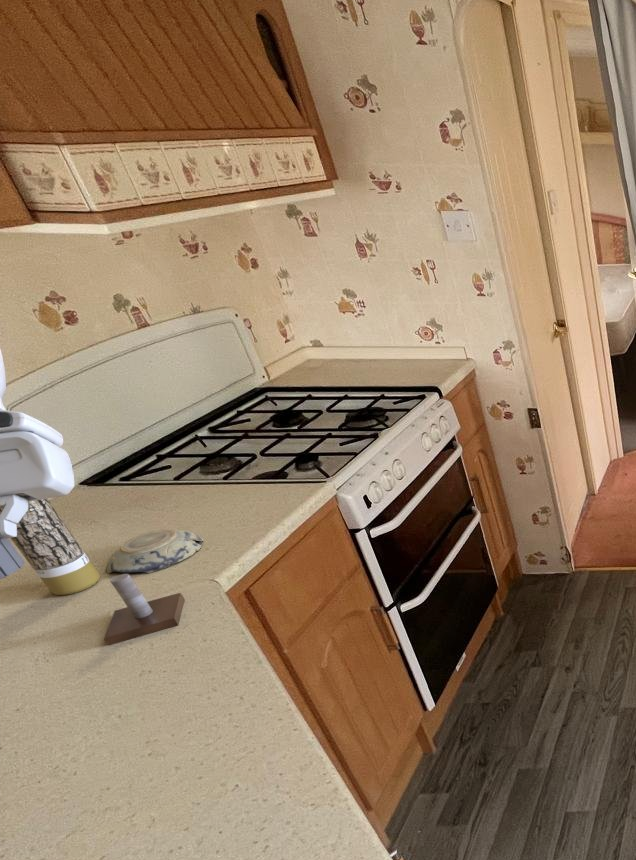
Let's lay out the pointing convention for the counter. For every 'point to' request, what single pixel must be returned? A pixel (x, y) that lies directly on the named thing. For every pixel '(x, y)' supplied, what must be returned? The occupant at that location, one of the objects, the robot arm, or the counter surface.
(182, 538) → the decorative bowl
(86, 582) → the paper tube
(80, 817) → the counter surface
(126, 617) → the stand
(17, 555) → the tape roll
